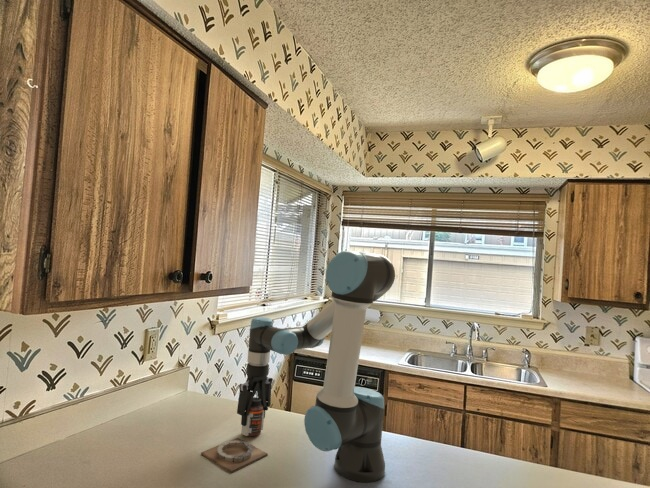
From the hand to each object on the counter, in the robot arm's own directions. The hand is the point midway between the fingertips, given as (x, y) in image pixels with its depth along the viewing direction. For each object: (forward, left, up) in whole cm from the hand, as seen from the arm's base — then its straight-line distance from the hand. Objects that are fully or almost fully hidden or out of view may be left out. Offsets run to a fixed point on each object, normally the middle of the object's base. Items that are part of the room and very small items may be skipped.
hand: (252, 431), depth 130 cm
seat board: (-7, +13, -1) cm, 15 cm away
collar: (-7, +13, -1) cm, 15 cm away
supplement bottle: (0, 0, -1) cm, 1 cm away
